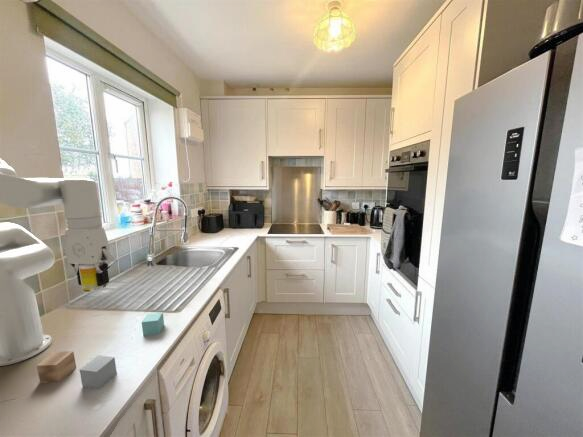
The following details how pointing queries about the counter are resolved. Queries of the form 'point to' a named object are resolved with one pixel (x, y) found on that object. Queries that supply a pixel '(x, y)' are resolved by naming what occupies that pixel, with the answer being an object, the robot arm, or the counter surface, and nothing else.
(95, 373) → the slate block
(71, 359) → the walnut block
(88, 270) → the supplement bottle
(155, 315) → the teal block
